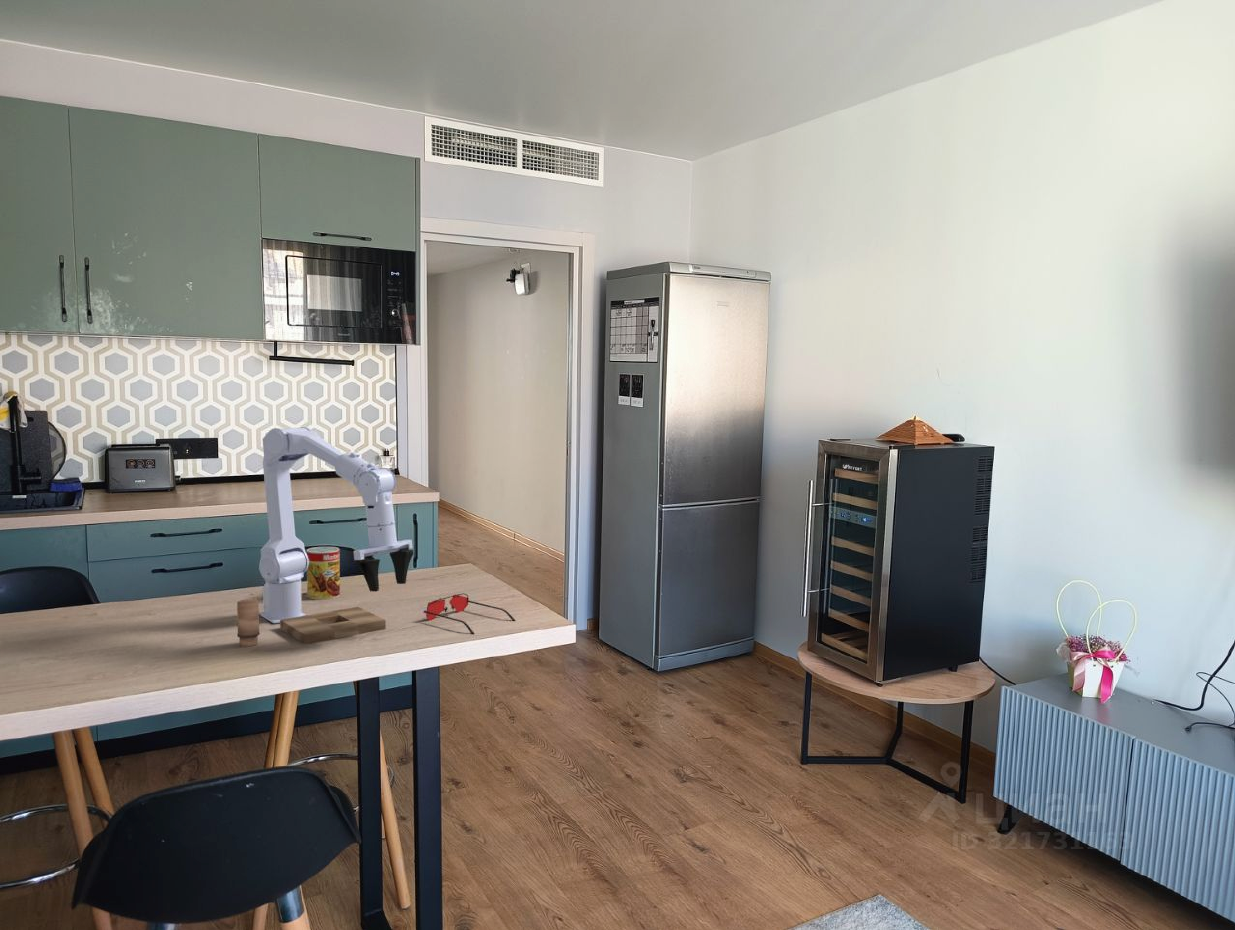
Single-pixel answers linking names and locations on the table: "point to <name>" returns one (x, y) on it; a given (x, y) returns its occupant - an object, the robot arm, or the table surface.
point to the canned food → (323, 573)
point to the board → (332, 624)
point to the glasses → (457, 603)
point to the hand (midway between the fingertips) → (388, 587)
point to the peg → (248, 622)
